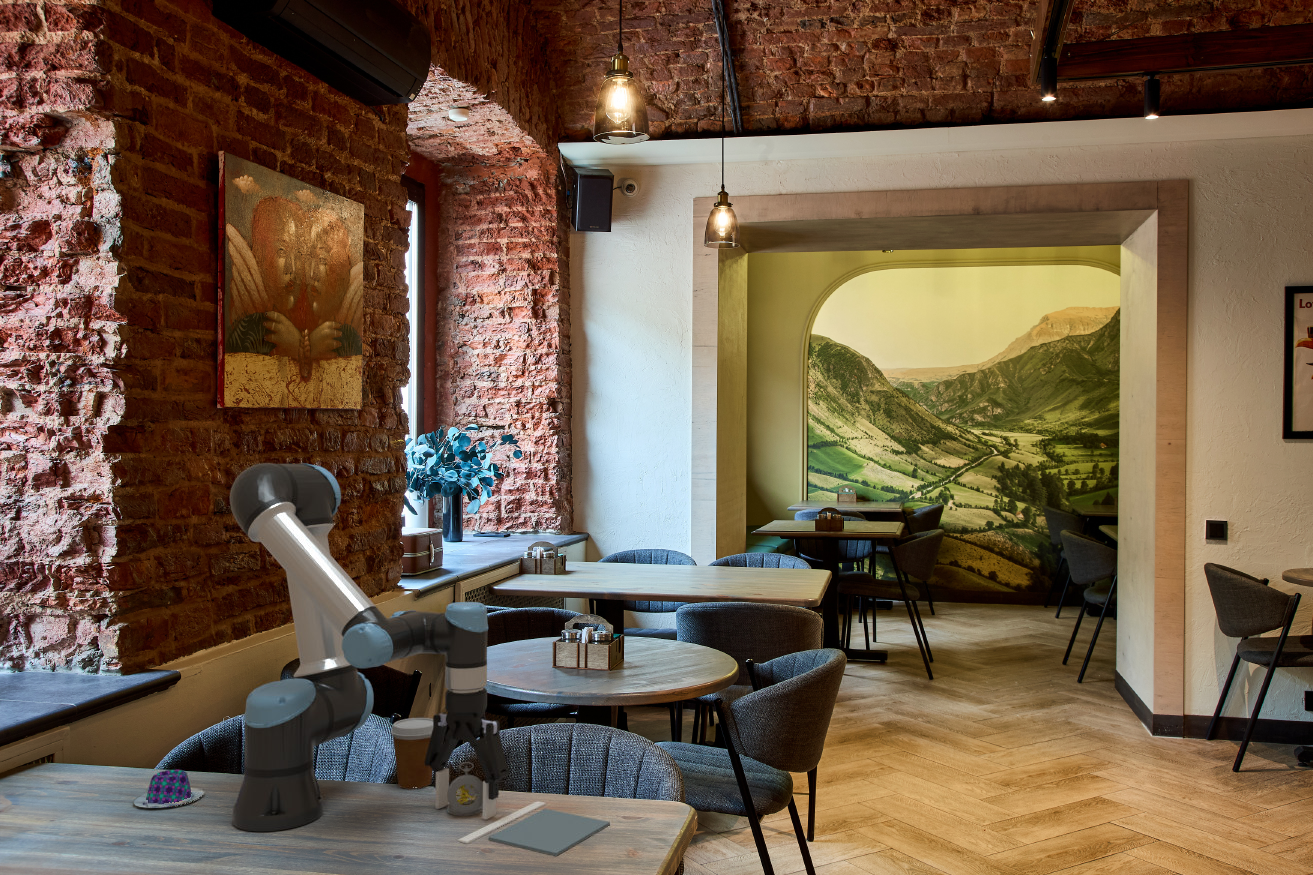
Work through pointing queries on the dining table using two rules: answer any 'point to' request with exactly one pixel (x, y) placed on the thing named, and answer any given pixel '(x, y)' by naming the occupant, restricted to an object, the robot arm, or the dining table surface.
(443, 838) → the dining table surface
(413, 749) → the disposable coffee cup
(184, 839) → the dining table surface
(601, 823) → the mat
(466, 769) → the pocket watch
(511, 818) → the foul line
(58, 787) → the dining table surface
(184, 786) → the purple domed brimmed part
